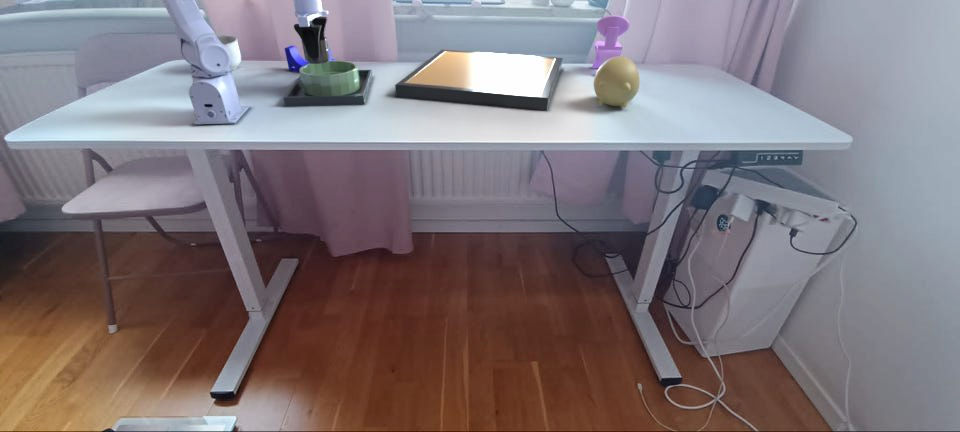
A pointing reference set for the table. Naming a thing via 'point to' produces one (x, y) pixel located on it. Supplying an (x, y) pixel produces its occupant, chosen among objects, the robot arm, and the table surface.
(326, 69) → the sage bowl
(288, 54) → the blue curved stand
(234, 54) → the teacup
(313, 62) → the black cup
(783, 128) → the table surface
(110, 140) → the table surface
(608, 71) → the toy pig
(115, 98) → the table surface
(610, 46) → the purple tall piece
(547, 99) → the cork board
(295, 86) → the tray
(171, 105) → the table surface
